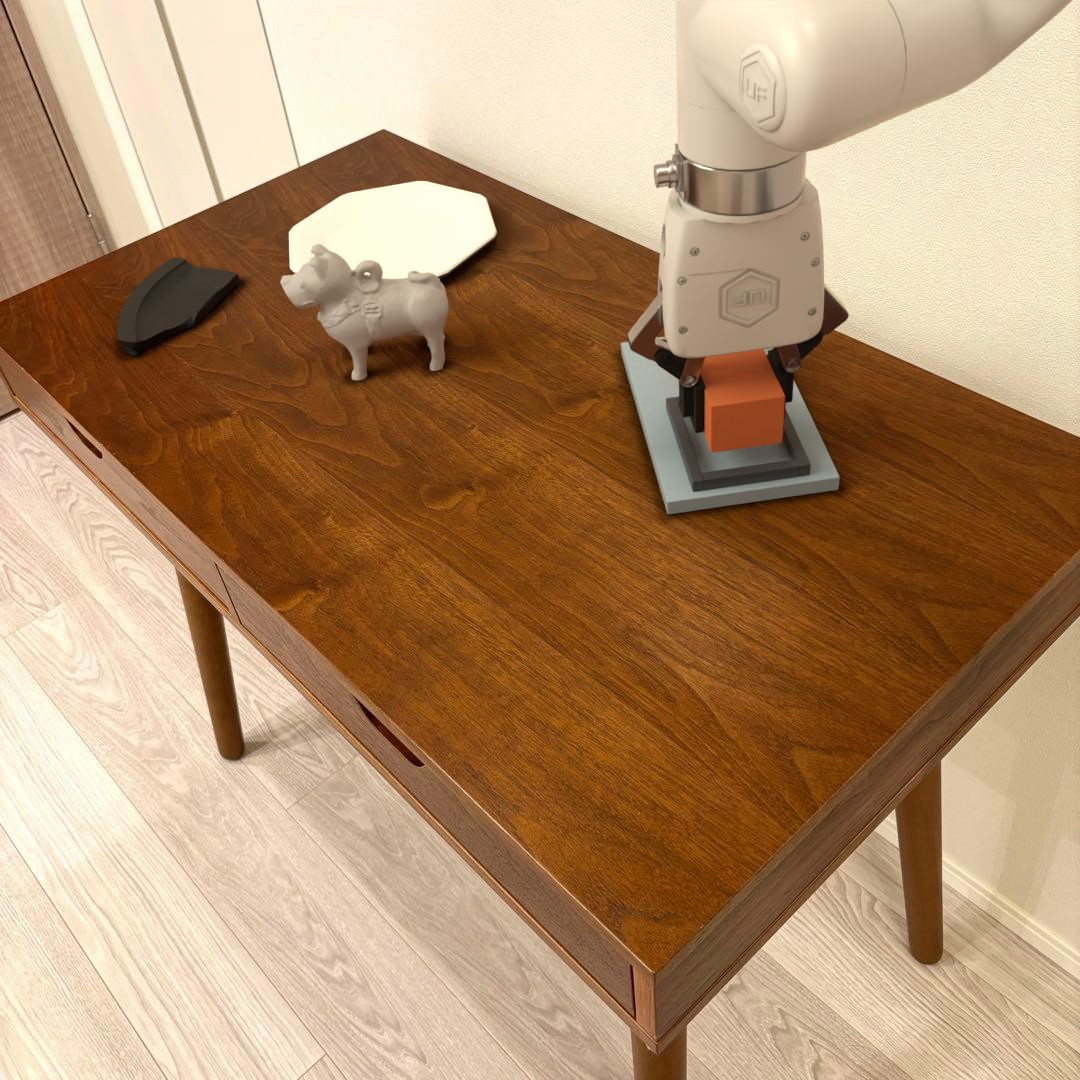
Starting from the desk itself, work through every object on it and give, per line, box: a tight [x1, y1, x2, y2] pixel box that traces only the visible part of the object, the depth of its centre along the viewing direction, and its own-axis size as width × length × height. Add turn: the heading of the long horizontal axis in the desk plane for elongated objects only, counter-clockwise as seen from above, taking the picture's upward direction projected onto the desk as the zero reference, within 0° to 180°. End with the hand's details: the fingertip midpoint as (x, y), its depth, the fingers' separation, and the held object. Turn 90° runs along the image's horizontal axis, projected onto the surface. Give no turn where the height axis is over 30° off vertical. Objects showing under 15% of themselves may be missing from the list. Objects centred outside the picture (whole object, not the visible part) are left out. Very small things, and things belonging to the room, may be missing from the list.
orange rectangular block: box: [701, 349, 785, 453], centre depth 80 cm, size 5×7×4 cm
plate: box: [288, 180, 498, 280], centre depth 110 cm, size 20×20×2 cm
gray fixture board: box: [620, 330, 841, 515], centre depth 85 cm, size 12×20×5 cm, turn 6°
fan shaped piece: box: [116, 257, 241, 357], centre depth 105 cm, size 8×14×2 cm, turn 156°
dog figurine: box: [280, 244, 449, 381], centre depth 93 cm, size 5×13×11 cm, turn 96°
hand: (735, 413), depth 81 cm, fingers closed on orange rectangular block, 4 cm apart
